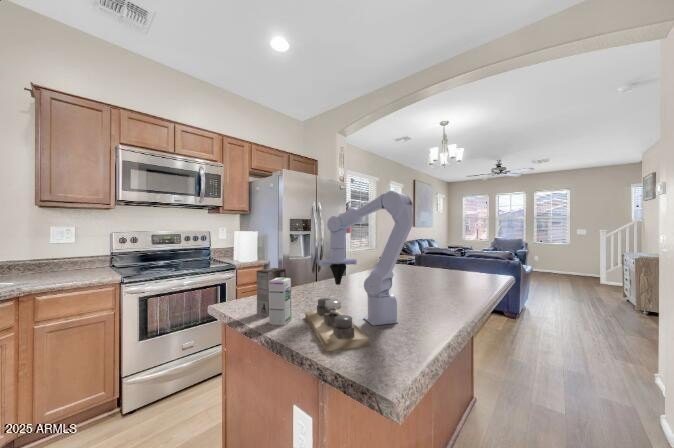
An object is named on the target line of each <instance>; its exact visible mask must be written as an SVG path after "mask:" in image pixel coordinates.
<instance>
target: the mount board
mask: <svg viewBox="0 0 674 448" xmlns="http://www.w3.org/2000/svg"><path fill="white" fill-rule="evenodd" d="M304 314H305V320H306V321H307V322H308V324H309V326H310V327H311V329H312V331H313V332H314V334H315V335H316V337H317V339H318V340H319V342H320V343H321V345H322V348H323V349H324V350H325V351H326V352H331V351H339V350H348V349H353V348H360V347H367V346H368V347H369V346H371V345H370V341H371V340H370V337H369V336H368V335H367V334H366V333H365V332H364V331H363V330H361V328H359V327H358V326H357V324H355V323H354V322H353V321H352V327H350V328H338V327H336V326H335V317H336V316H339V315H345V314H344V313H343V312H342V311H341V310H340V309H337V310H336V316H333V317H332V316H330V310H329V309H326V308H320V307H318V304H317V305H316V310H313V311H305V313H304Z"/></svg>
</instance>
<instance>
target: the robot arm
mask: <svg viewBox="0 0 674 448" xmlns="http://www.w3.org/2000/svg"><path fill="white" fill-rule="evenodd" d="M413 207H414V203H413V201H412V199H411V197H410V196H409V195H408V194H406V193H401V192H398V191H395V190H389V191H387V192H386V193H382V194H380V195H379V196H377V197H376V198H375V199H373V200H371V201H369V202H368V203H366V204H364V205H363V206H360V207H359V208H357V207H349V208H348V210H346V211H345V212H341V213H339V214H338V215H337V216H336V215H332V216H330V218H328V220H327V225H326V226H327V229H328V230H329V231H330V232H329V233H330V235H329V236H330V239H329V240H330V245H329V246H330V247H329V248H330V250H329V251H330V253H329V254H330V256H329V257H330V259H322V260H321V259H318V266H319V267H323V266H325V267H326V266H329V268H330V270H331V272H332V274H333V278H334V284H335V285H337V286H340V285H341V283H342V279H343V276H344V273H345V271H346V270H347V266H346V265H356V266H357V263H358V262H357V258H346V235H347V231H348V229H349V228H350V227H353V226H354V225H357V224H359V223H361V222H362V220H363V217H366V216H368V215H371V214H372V213H375V212H378V211H379V210H386V212H388V214H390V215H391V217H392V220H393V222H394V225H393V228H392V230H391V232H390V235H389V236H388V239H387V242H386V244H385V246H384V247H383V250H382V253H381V256H380V258H379V260H378V263H377V265H376V266H375V268H374V269H372V270H371V272H370V274H369V275H368V276H367V277H366V278H365V280H364V282H363V289H364V290H365V293H367V294H366V295H367V316H363V317H362V318H363V319H364V320H365V321H366V322H367V323H369V324H371V325H372V326H380V325H381V326H382V325H390V324H398V323H399V320H398V300H397V297H396V296H395V294H393V293H390V290H392V287H393V278H394V276H395V274H394V272H393V270H394V268H395V266H396V264H397V262H398V259H399V257H400V255H401V253H402V250H403V248H404V245H405V243H406V241H407V238H408V237H409V234H410V232H411V230H412V228H413V225H414V216H413V215H414V213H413Z"/></svg>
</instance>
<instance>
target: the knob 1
mask: <svg viewBox="0 0 674 448" xmlns="http://www.w3.org/2000/svg"><path fill="white" fill-rule="evenodd" d="M329 299H330V298H323V297H322V298H319V299H317V305H318V307H320V308H325V301H326V300H329Z"/></svg>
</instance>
